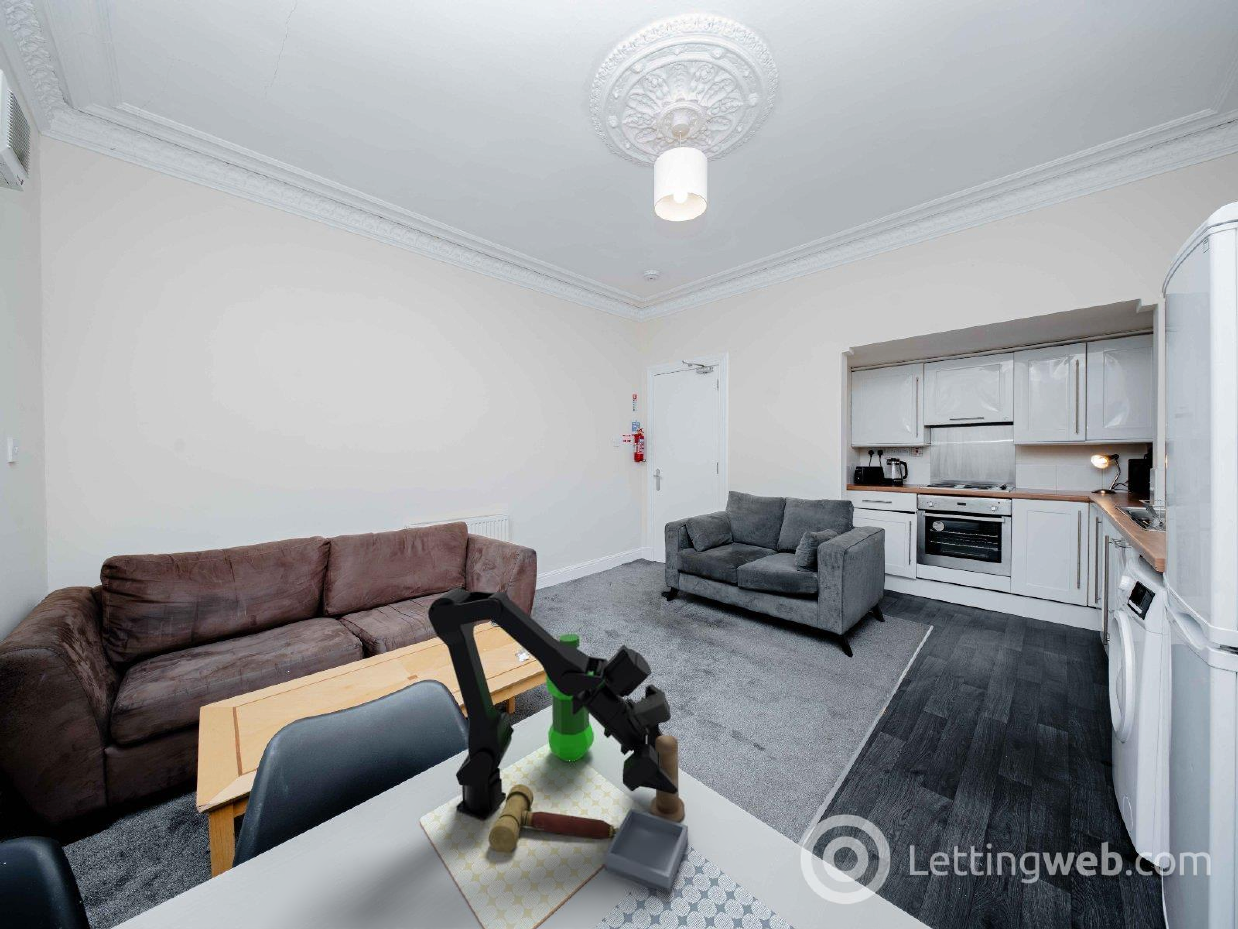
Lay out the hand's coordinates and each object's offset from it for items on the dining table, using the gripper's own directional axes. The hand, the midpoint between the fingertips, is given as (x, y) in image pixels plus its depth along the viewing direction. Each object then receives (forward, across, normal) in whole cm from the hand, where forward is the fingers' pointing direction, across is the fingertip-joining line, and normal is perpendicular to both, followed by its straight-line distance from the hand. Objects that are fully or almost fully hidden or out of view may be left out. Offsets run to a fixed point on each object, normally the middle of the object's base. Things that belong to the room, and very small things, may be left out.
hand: (674, 774), depth 83 cm
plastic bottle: (-10, +15, +20) cm, 27 cm away
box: (+1, -9, +8) cm, 12 cm away
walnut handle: (+4, 0, +6) cm, 7 cm away
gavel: (-9, -5, +19) cm, 22 cm away
